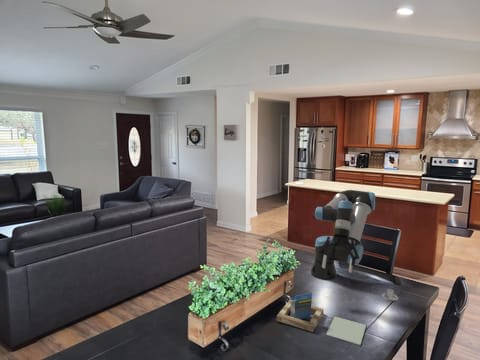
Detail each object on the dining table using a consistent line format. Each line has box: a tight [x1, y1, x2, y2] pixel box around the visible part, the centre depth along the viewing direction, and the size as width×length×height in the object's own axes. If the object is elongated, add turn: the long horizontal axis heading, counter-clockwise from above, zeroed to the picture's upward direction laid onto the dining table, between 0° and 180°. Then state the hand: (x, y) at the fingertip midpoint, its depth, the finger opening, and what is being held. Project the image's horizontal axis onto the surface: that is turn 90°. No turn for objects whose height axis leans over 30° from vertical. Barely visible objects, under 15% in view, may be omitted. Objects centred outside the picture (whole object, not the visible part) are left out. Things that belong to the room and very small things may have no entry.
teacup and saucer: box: [381, 288, 399, 302], centre depth 178 cm, size 9×8×4 cm
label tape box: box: [289, 292, 313, 320], centre depth 157 cm, size 9×4×12 cm, turn 111°
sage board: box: [325, 316, 367, 346], centre depth 148 cm, size 16×14×1 cm
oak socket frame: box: [276, 299, 325, 333], centre depth 157 cm, size 17×17×2 cm
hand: (336, 270), depth 170 cm, fingers open, 13 cm apart
